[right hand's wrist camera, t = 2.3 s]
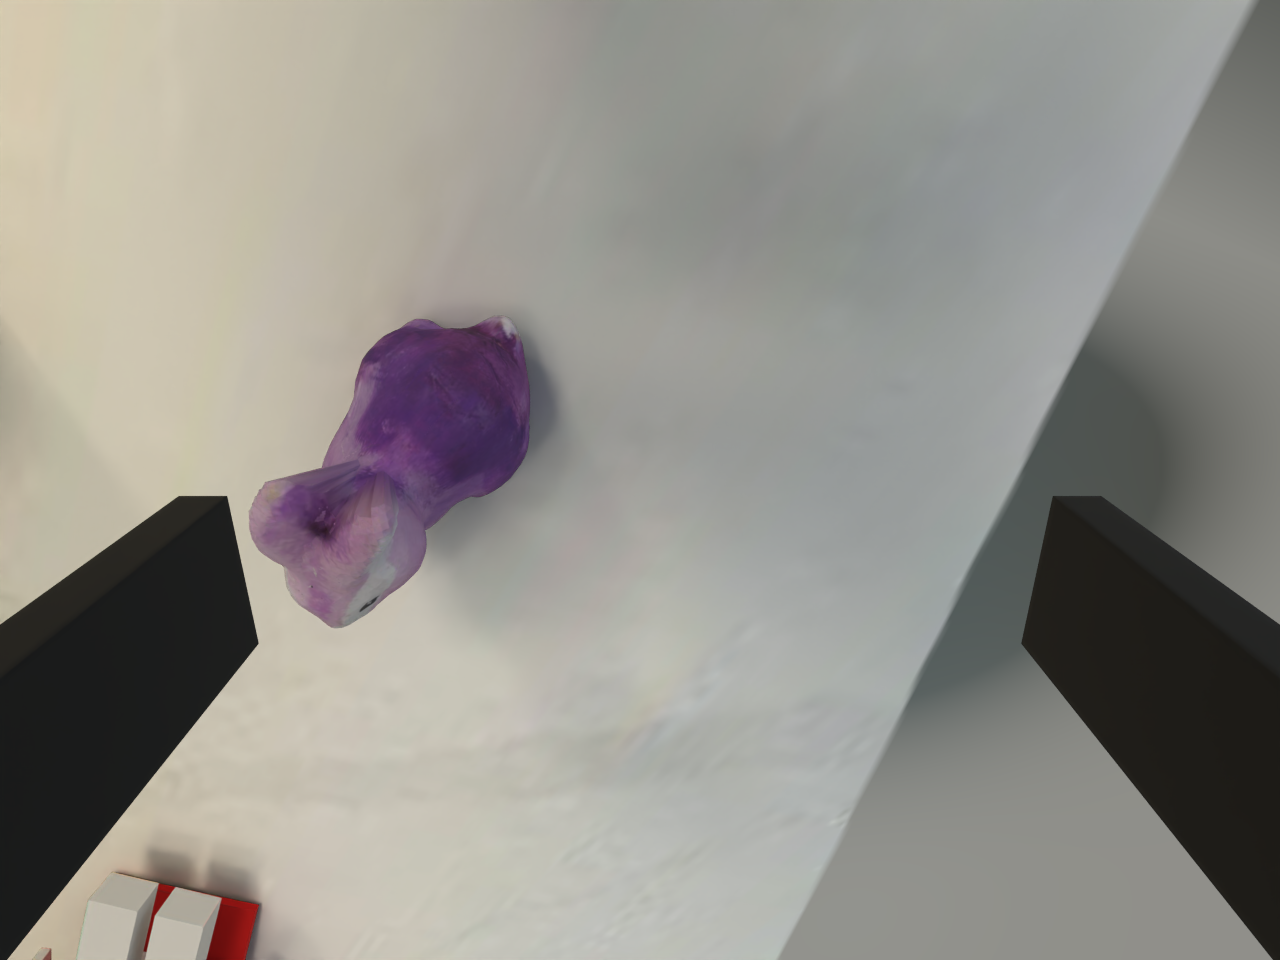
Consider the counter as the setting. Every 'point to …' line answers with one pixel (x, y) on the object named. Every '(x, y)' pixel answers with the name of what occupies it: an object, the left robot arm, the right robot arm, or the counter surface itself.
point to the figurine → (398, 464)
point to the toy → (161, 923)
